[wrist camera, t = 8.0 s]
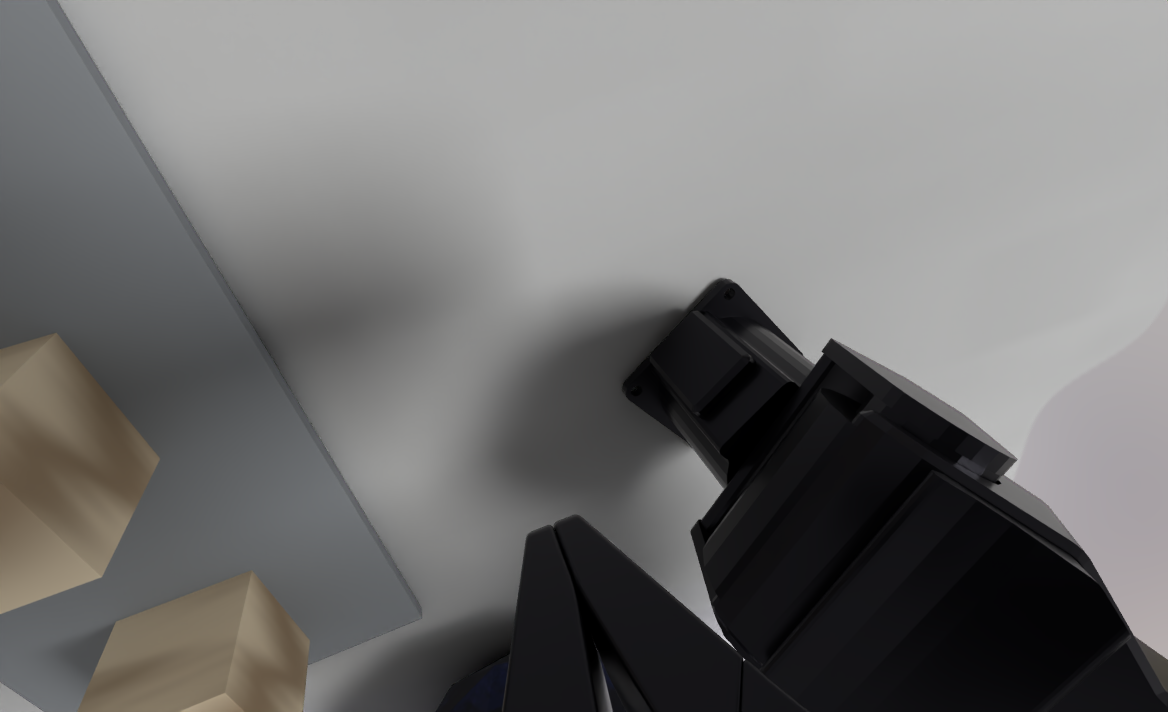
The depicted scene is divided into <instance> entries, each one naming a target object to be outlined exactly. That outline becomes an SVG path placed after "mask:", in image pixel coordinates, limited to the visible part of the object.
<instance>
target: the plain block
mask: <svg viewBox="0 0 1168 712" xmlns="http://www.w3.org/2000/svg"><path fill="white" fill-rule="evenodd" d="M159 460H160V458H159V456H158V455H157V454H156V453H155V452H154V450H153V449H152V448H151V447H150V446H149V444H148V443H147V442H146V441H145V440H144V438H143V437H142V436H141V435H140V433H139V432H138V431H137V430H136V429H135V427H134V426H133V425H132V424H131V423H130V421H129V420H128V419H127V418H126V416H125V415H124V414H123V413H122V412H121V410H120V409H119V408H118V407H117V406H116V404H115V403H114V402H113V401H112V399H111V398H110V397H109V396H108V395H107V393H106V392H105V391H104V390H103V389H102V387H101V386H100V385H99V384H98V383H97V381H96V380H95V379H94V378H93V376H92V375H91V374H90V373H89V372H88V370H87V369H86V368H85V367H84V366H83V364H82V363H81V362H80V361H79V359H78V358H77V357H76V356H75V355H74V353H73V352H72V351H71V350H70V349H69V347H68V346H67V345H66V344H65V342H64V341H63V340H62V339H61V338H60V336H59V335H58V334H57V333H53V334H50V335H47V336H43V337H40V338H37V339H33V340H30V341H26V342H23V343H20V344H16V345H13V346H10V347H6V348H3V349H0V614H2V613H5V612H8V611H10V610H13V609H16V608H19V607H21V606H24V605H27V604H30V603H32V602H35V601H38V600H41V599H43V598H46V597H49V596H52V595H54V594H57V593H60V592H63V591H65V590H68V589H71V588H73V587H76V586H79V585H82V584H84V583H87V582H90V581H93V580H95V579H98V578H101V577H102V576H103V574H104V572H105V570H106V568H107V566H108V564H109V562H110V560H111V558H112V556H113V554H114V552H115V550H116V547H117V545H118V543H119V541H120V539H121V537H122V535H123V533H124V531H125V529H126V527H127V525H128V523H129V521H130V519H131V517H132V515H133V513H134V511H135V509H136V507H137V505H138V503H139V501H140V499H141V497H142V495H143V493H144V491H145V489H146V487H147V484H148V482H149V480H150V478H151V476H152V474H153V472H154V470H155V468H156V466H157V464H158V462H159Z"/></svg>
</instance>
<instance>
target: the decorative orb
mask: <svg viewBox="0 0 1168 712" xmlns="http://www.w3.org/2000/svg"><path fill="white" fill-rule="evenodd" d="M597 652H598V651H597ZM598 656H599V653H598ZM509 657H510V654H509V655H507V656H505V657H503V658H501V659H500V660H498V661H496V662H494V663H492V664H490V665H488V666H487V667H485V668H483V669H481V670H479V671H477V672H475V673H474V674H472V675H470V676H468V677H466V678H464V679H462V680H461V681H459V682H457V683H455V684H453V685H452V686H451V688H450V689H449V691H448V693H447V694H446V696H445V698H444V699H443V701H442V702H441V704H440V706H439V707H438V709H437V711H436V712H502V708H503V701H504V693H505V686H506V679H507V672H508V665H509ZM599 659H600V662H601V665H602V669H603V673H604V677H605V681H606V685H607V689H608V693H609V698H610V702H611V706H612V711H613V712H626V710H625V708H624V706H623V704H622V702H621V700H620V698H619V696H618V694H617V692H616V690H615V688H614V686H613V684H612V682H611V680H610V678H609V676H608V674H607V672H606V669H605V667H604V665H603V663H602V661H601V658H600V656H599Z"/></svg>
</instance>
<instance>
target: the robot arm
mask: <svg viewBox="0 0 1168 712" xmlns="http://www.w3.org/2000/svg"><path fill="white" fill-rule="evenodd" d="M728 289H730V292H729V293H728V294H727V295H726V296H724V293H725V291H726V290H728ZM822 352H823V353H824V354H823V355H822V357H821V358H820V359H819V361H818V362H817V363H816V365H814V364H813V363H812V362H810V361H809V360H808V359H806V358H805V357H804V356H803V354H802V353H801V352H800V351H799V350H798V348H797V347H796V346H795V345H794V344H793V343H792V342H791V341H790V340H789V339H788V338H787V337H786V336H785V334H784V333H783V332H782V331H781V330H780V329H779V328H778V327H777V326H776V325H775V324H774V323H773V322H772V321H771V319H770V318H769V317H768V316H767V315H766V314H765V313H764V312H763V311H762V310H761V309H760V308H759V307H758V306H757V304H756V303H755V302H754V301H753V300H752V299H751V298H750V297H749V296H748V295H747V294H746V293H745V292H744V290H743V289H742V288H741V287H740V286H739V285H738V284H736V283H735V282H733V281H732V280H730V279H725V280H722V281H720V282H719V283H718V284H717V285H716V286H715V287H714V288H713V289H712V290H711V291H710V292H709V293H708V294H707V295H706V296H705V298H704V299H703V300H702V301H701V302H700V303H699V304H698V305H697V306H696V307H695V308H694V309H693V310H692V311H691V312H690V313H689V314H688V315H687V316H686V317H685V318H684V320H683V321H682V322H681V323H680V324H679V325H678V326H677V327H676V328H675V329H674V330H673V331H672V332H671V333H670V334H669V335H668V336H667V337H666V339H665V340H664V341H663V342H662V343H661V344H660V345H659V346H658V347H657V348H656V349H655V350H654V351H653V352H652V353H651V354H650V356H649V357H648V358H647V359H646V360H645V361H644V362H643V363H642V364H641V365H640V366H639V367H638V368H637V369H636V370H635V371H634V372H633V373H632V374H631V376H630V377H629V378H628V379H627V380H626V381H625V382H624V384H623V387H622V390H623V393H624V394H625V395H626V397H627V398H628V399H629V400H630V401H631V402H633V403H634V404H635V405H637V406H638V407H640V408H641V409H642V410H644V411H645V412H646V413H648V414H649V415H651V416H652V417H653V418H655V419H656V420H657V421H659V422H660V423H662V424H663V425H664V426H666V427H667V428H668V429H670V430H671V431H673V432H674V433H675V434H677V435H678V436H679V437H681V438H682V439H684V440H685V441H686V442H688V443H689V444H690V445H691V447H692V448H693V449H694V451H695V452H696V453H697V455H698V456H699V457H700V458H701V460H702V461H703V462H704V464H705V465H706V466H707V468H708V469H709V470H710V471H711V473H712V474H713V475H714V477H715V478H716V479H717V480H718V482H719V483H720V484H721V486H722V487H723V488H724V490H723V492H722V493H721V494H720V496H719V497H718V498H717V500H716V501H715V503H714V504H713V505H712V507H711V508H710V509H709V511H708V512H707V513H706V515H705V516H704V518H703V519H702V520H698V521H697V522H696V524H695V525H694V527H693V528H692V529H691V536H692V539H693V542H694V546H695V549H696V553H697V556H698V560H699V563H700V567H701V570H702V574H703V577H704V580H705V584H706V587H707V591H708V594H709V598H710V601H711V605H712V608H713V612H714V614H715V617H716V619H717V622H718V624H719V626H720V628H721V629H722V632H723V635H724V636H725V638H726V639H727V640H728V641H729V642H730V643H731V644H732V645H733V647H734V648H735V649H736V650H737V651H736V650H735V649H734V648H733V647H732V646H730V645H729V644H728V643H727V642H726V641H725V640H723V639H722V638H721V637H720V636H719V635H718V634H717V633H715V632H714V631H713V630H712V629H711V628H710V627H708V626H707V625H706V624H705V623H704V622H703V621H701V620H700V619H699V618H698V617H697V616H696V615H695V614H693V613H692V612H691V611H690V610H689V609H688V608H686V607H685V606H684V605H683V604H682V603H681V602H679V601H678V600H677V599H676V598H675V597H674V596H673V595H671V594H670V593H669V592H668V591H667V590H666V589H664V588H663V587H662V586H661V585H660V584H659V583H657V582H656V581H655V580H654V579H653V578H652V577H651V576H649V575H648V574H647V573H646V572H645V571H644V570H642V569H641V568H640V567H639V566H638V565H637V564H635V563H634V562H633V561H632V560H631V559H630V558H628V557H627V556H626V555H625V554H624V553H623V552H622V551H620V550H619V549H618V548H617V547H616V546H615V545H613V544H612V543H611V542H610V541H609V540H608V539H606V538H605V537H604V536H603V535H602V534H601V533H600V532H598V531H597V530H596V529H595V528H594V527H593V526H591V525H590V524H589V523H588V522H587V521H586V520H584V519H583V518H582V517H581V516H579V515H572V516H570V517H567V518H565V519H562V520H559V521H557V522H556V523H555V524H554V528H553V526H551V525H547V526H544V527H542V528H539V529H537V530H534V531H532V532H530V533H529V534H528V535H527V537H526V543H525V550H524V557H523V564H522V571H521V579H520V586H519V593H518V600H517V607H516V614H515V622H514V629H513V636H512V643H511V650H510V657H509V665H508V672H507V679H506V686H505V693H504V701H503V708H502V712H613V711H612V706H611V702H610V698H609V693H608V689H607V685H606V681H605V677H604V673H603V669H602V665H601V662H600V659H599V656H600V658H601V661H602V663H603V665H604V667H605V669H606V672H607V674H608V676H609V678H610V680H611V682H612V684H613V686H614V688H615V690H616V692H617V694H618V696H619V698H620V700H621V702H622V704H623V706H624V708H625V710H626V712H1168V660H1167V659H1166V658H1164V657H1163V656H1162V655H1160V654H1159V653H1157V652H1156V651H1154V650H1153V649H1152V648H1150V647H1148V646H1147V645H1146V644H1145V643H1143V642H1142V641H1140V640H1139V639H1138V638H1136V637H1135V636H1134V635H1133V633H1132V632H1131V630H1130V628H1129V626H1128V625H1127V623H1126V621H1125V619H1124V618H1123V616H1122V614H1121V612H1120V611H1119V609H1118V607H1117V605H1116V604H1115V602H1114V600H1113V598H1112V597H1111V595H1110V593H1109V591H1108V590H1107V588H1106V586H1105V584H1104V583H1103V581H1102V579H1101V577H1100V576H1099V574H1098V572H1097V570H1096V569H1095V567H1094V565H1093V563H1092V561H1091V560H1090V558H1089V557H1088V556H1087V554H1086V553H1085V552H1084V551H1083V549H1082V548H1081V547H1080V545H1079V544H1078V543H1077V542H1076V540H1075V539H1074V538H1073V536H1072V535H1071V534H1070V533H1069V531H1068V530H1067V529H1066V528H1065V526H1064V525H1063V524H1062V523H1061V521H1060V520H1059V519H1058V517H1057V516H1056V515H1055V514H1054V512H1053V511H1052V510H1051V509H1050V507H1049V506H1048V505H1047V504H1046V503H1044V502H1043V501H1042V500H1041V499H1039V498H1038V497H1036V496H1035V495H1033V494H1031V493H1030V492H1029V491H1027V490H1026V489H1024V488H1023V487H1021V486H1020V485H1018V484H1016V483H1015V482H1013V481H1012V480H1010V479H1009V478H1007V477H1006V476H1004V474H1005V473H1006V472H1007V471H1008V470H1009V468H1010V467H1011V466H1012V465H1013V464H1014V463H1015V462H1016V461H1017V460H1018V459H1017V458H1016V457H1015V456H1014V455H1012V454H1011V453H1010V452H1009V451H1008V450H1006V449H1005V448H1004V447H1003V446H1002V445H1000V444H999V443H998V442H997V441H995V440H994V439H993V438H992V437H991V436H989V435H988V434H987V433H986V432H985V431H983V430H982V429H981V428H980V427H979V426H977V425H976V424H975V423H974V422H973V421H971V420H970V419H969V418H968V417H966V416H965V415H964V414H962V413H961V412H959V411H958V410H956V409H955V408H953V407H951V406H950V405H948V404H947V403H945V402H944V401H942V400H940V399H939V398H937V397H936V396H934V395H932V394H931V393H929V392H928V391H926V390H924V389H923V388H921V387H920V386H918V385H916V384H915V383H913V382H912V381H910V380H908V379H907V378H905V377H903V376H901V375H899V374H897V373H895V372H894V371H892V370H890V369H888V368H886V367H884V366H882V365H881V364H879V363H877V362H875V361H873V360H871V359H869V358H867V357H866V356H864V355H862V354H860V353H858V352H856V351H854V350H852V349H851V348H849V347H847V346H845V345H843V344H841V343H839V342H837V341H836V340H834V339H832V338H831V339H830V341H829V342H828V343H827V345H826V346H825V347H824V349H823V350H822ZM635 386H639V387H638V388H637V389H636V390H635V391H631V390H632V389H633V388H634V387H635ZM554 529H555V530H554ZM555 532H556V533H555ZM595 645H596V646H595ZM596 648H597V649H596ZM597 650H598V652H597ZM598 653H599V656H598ZM743 658H744V659H745V661H744V662H743Z"/></svg>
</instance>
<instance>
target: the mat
mask: <svg viewBox="0 0 1168 712" xmlns="http://www.w3.org/2000/svg"><path fill="white" fill-rule="evenodd" d="M53 333H57V334H58V335H59V336H60V338H61V339H62V340H63V341H64V342H65V344H66V345H67V346H68V347H69V349H70V350H71V351H72V352H73V353H74V355H75V356H76V357H77V358H78V359H79V361H80V362H81V363H82V364H83V366H84V367H85V368H86V369H87V370H88V372H89V373H90V374H91V375H92V376H93V378H94V379H95V380H96V381H97V383H98V384H99V385H100V386H101V387H102V389H103V390H104V391H105V392H106V393H107V395H108V396H109V397H110V398H111V399H112V401H113V402H114V403H115V404H116V406H117V407H118V408H119V409H120V410H121V412H122V413H123V414H124V415H125V416H126V418H127V419H128V420H129V421H130V423H131V424H132V425H133V426H134V427H135V429H136V430H137V431H138V432H139V433H140V435H141V436H142V437H143V438H144V440H145V441H146V442H147V443H148V444H149V446H150V447H151V448H152V449H153V450H154V452H155V453H156V454H157V455H158V456H159V458H160V460H159V462H158V464H157V466H156V468H155V470H154V472H153V474H152V476H151V478H150V480H149V482H148V484H147V487H146V489H145V491H144V493H143V495H142V497H141V499H140V501H139V503H138V505H137V507H136V509H135V511H134V513H133V515H132V517H131V519H130V521H129V523H128V525H127V527H126V529H125V531H124V533H123V535H122V537H121V539H120V541H119V543H118V545H117V547H116V550H115V552H114V554H113V556H112V558H111V560H110V562H109V564H108V566H107V568H106V570H105V572H104V574H103V576H102V577H101V578H98V579H95V580H93V581H90V582H87V583H84V584H82V585H79V586H76V587H73V588H71V589H68V590H65V591H63V592H60V593H57V594H54V595H52V596H49V597H46V598H43V599H41V600H38V601H35V602H32V603H30V604H27V605H24V606H21V607H19V608H16V609H13V610H10V611H8V612H5V613H2V614H0V682H1V683H3V684H4V685H6V686H7V687H9V688H10V689H12V690H13V691H15V692H16V693H18V694H19V695H20V696H22V697H23V698H25V699H26V700H28V701H29V702H31V703H32V704H34V705H35V706H37V707H38V708H39V709H41V710H42V711H44V712H77V711H78V709H79V706H80V704H81V702H82V699H83V697H84V695H85V692H86V690H87V688H88V685H89V683H90V681H91V678H92V676H93V674H94V671H95V669H96V667H97V665H98V662H99V660H100V658H101V655H102V653H103V651H104V648H105V646H106V644H107V641H108V639H109V637H110V634H111V632H112V630H113V627H114V625H115V623H116V621H119V620H122V619H124V618H127V617H130V616H132V615H135V614H137V613H140V612H143V611H145V610H148V609H151V608H153V607H156V606H159V605H161V604H164V603H167V602H169V601H172V600H174V599H177V598H180V597H182V596H185V595H188V594H190V593H193V592H196V591H198V590H201V589H204V588H206V587H209V586H211V585H214V584H217V583H219V582H222V581H225V580H227V579H230V578H233V577H235V576H238V575H241V574H243V573H246V572H248V571H251V570H252V571H253V572H254V573H255V575H256V576H257V577H258V578H259V579H260V581H261V582H262V583H263V584H264V585H265V587H266V588H267V589H268V590H269V591H270V593H271V594H272V595H273V596H274V598H275V599H276V600H277V601H278V602H279V604H280V605H281V606H282V607H283V608H284V610H285V611H286V612H287V613H288V615H289V616H290V617H291V618H292V619H293V621H294V622H295V623H296V624H297V625H298V627H299V628H300V629H301V630H302V631H303V633H304V634H305V635H306V636H307V638H308V639H309V640H310V645H309V655H308V665H310V664H312V663H314V662H317V661H319V660H322V659H324V658H327V657H329V656H331V655H334V654H336V653H339V652H341V651H344V650H346V649H349V648H351V647H353V646H356V645H358V644H361V643H363V642H366V641H368V640H370V639H373V638H375V637H378V636H380V635H383V634H385V633H388V632H390V631H392V630H395V629H397V628H400V627H402V626H405V625H407V624H409V623H412V622H414V621H417V620H419V619H422V612H421V606H420V605H419V603H418V601H417V600H416V598H415V596H414V595H413V593H412V591H411V590H410V588H409V586H408V585H407V583H406V581H405V580H404V578H403V576H402V575H401V573H400V571H399V570H398V568H397V566H396V565H395V563H394V561H393V560H392V558H391V556H390V555H389V553H388V551H387V550H386V548H385V546H384V545H383V543H382V541H381V540H380V538H379V536H378V535H377V533H376V531H375V530H374V528H373V526H372V525H371V523H370V521H369V520H368V518H367V516H366V515H365V513H364V511H363V510H362V508H361V506H360V505H359V503H358V501H357V500H356V498H355V496H354V495H353V493H352V491H351V490H350V488H349V486H348V485H347V483H346V481H345V480H344V478H343V476H342V475H341V473H340V471H339V470H338V468H337V466H336V465H335V463H334V461H333V460H332V458H331V456H330V455H329V453H328V451H327V450H326V448H325V446H324V445H323V443H322V441H321V440H320V438H319V436H318V435H317V433H316V431H315V430H314V428H313V426H312V425H311V423H310V421H309V420H308V418H307V416H306V415H305V413H304V411H303V410H302V408H301V406H300V405H299V403H298V401H297V400H296V398H295V396H294V395H293V393H292V391H291V390H290V388H289V386H288V385H287V383H286V381H285V380H284V378H283V376H282V375H281V373H280V371H279V370H278V368H277V366H276V365H275V363H274V361H273V360H272V358H271V356H270V355H269V353H268V351H267V350H266V348H265V346H264V345H263V343H262V341H261V340H260V338H259V336H258V335H257V333H256V331H255V330H254V328H253V326H252V325H251V323H250V321H249V320H248V318H247V316H246V315H245V313H244V311H243V310H242V308H241V306H240V305H239V303H238V301H237V300H236V298H235V296H234V295H233V293H232V291H231V290H230V288H229V286H228V285H227V283H226V281H225V280H224V278H223V276H222V275H221V273H220V271H219V270H218V268H217V266H216V265H215V263H214V261H213V260H212V258H211V256H210V255H209V253H208V251H207V250H206V248H205V246H204V245H203V243H202V241H201V240H200V238H199V236H198V235H197V233H196V231H195V230H194V228H193V226H192V225H191V223H190V221H189V220H188V218H187V216H186V215H185V213H184V211H183V210H182V208H181V206H180V205H179V203H178V201H177V200H176V198H175V196H174V195H173V193H172V191H171V190H170V188H169V186H168V185H167V183H166V181H165V180H164V178H163V176H162V175H161V173H160V171H159V170H158V168H157V166H156V165H155V163H154V161H153V160H152V158H151V156H150V155H149V153H148V151H147V150H146V148H145V146H144V145H143V143H142V141H141V140H140V138H139V136H138V135H137V133H136V131H135V130H134V128H133V126H132V125H131V123H130V121H129V120H128V118H127V116H126V115H125V113H124V111H123V110H122V108H121V106H120V105H119V103H118V101H117V100H116V98H115V96H114V95H113V93H112V91H111V90H110V88H109V86H108V85H107V83H106V81H105V80H104V78H103V76H102V75H101V73H100V71H99V70H98V68H97V66H96V65H95V63H94V61H93V60H92V58H91V56H90V55H89V53H88V51H87V50H86V48H85V46H84V45H83V43H82V41H81V40H80V38H79V36H78V35H77V33H76V31H75V30H74V28H73V26H72V25H71V23H70V21H69V20H68V18H67V16H66V15H65V13H64V11H63V10H62V8H61V6H60V5H59V3H58V1H57V0H0V349H3V348H6V347H10V346H13V345H16V344H20V343H23V342H26V341H30V340H33V339H37V338H40V337H43V336H47V335H50V334H53Z"/></svg>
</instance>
